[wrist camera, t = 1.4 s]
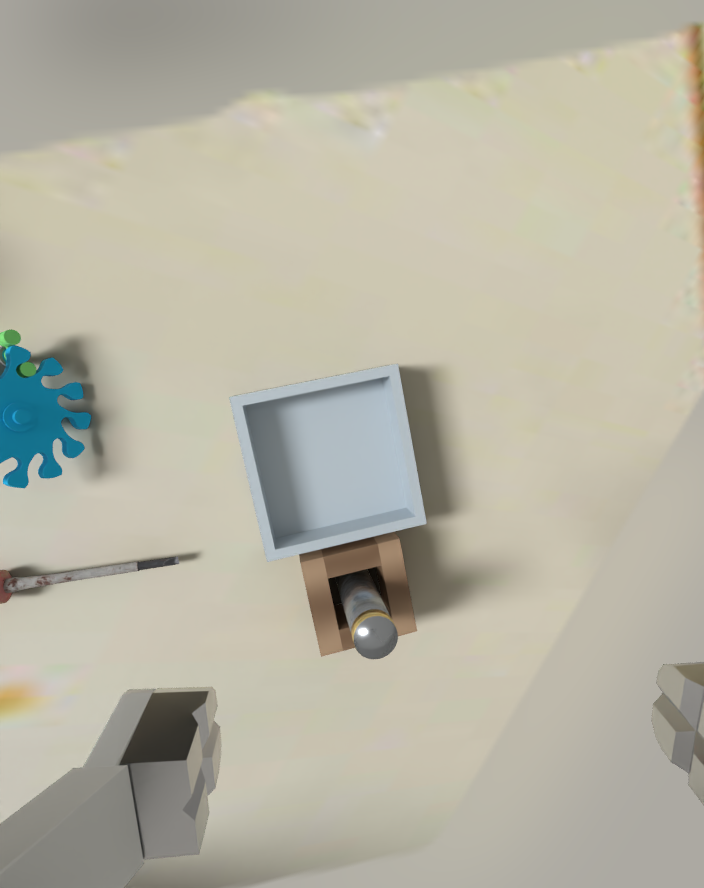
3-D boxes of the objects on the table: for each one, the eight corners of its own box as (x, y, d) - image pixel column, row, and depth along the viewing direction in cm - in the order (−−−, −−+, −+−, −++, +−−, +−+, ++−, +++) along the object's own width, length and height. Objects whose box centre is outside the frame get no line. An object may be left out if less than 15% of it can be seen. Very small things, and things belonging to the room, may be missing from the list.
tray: (413, 511, 45) (426, 523, 41) (268, 545, 43) (267, 562, 39) (386, 365, 43) (397, 363, 39) (233, 396, 42) (229, 397, 38)
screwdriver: (179, 537, 42) (171, 548, 39) (184, 570, 43) (177, 584, 40) (-152, 584, 39) (-187, 601, 36) (-142, 620, 40) (-176, 639, 37)
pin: (371, 588, 45) (401, 652, 34) (338, 596, 45) (358, 664, 34) (365, 556, 45) (393, 611, 34) (331, 564, 44) (349, 622, 34)
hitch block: (403, 607, 46) (417, 631, 41) (316, 629, 45) (321, 656, 40) (387, 523, 45) (399, 538, 40) (298, 544, 44) (300, 562, 39)
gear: (94, 485, 39) (-70, 493, 31) (58, 482, 43) (-97, 488, 35) (96, 342, 39) (-66, 313, 31) (61, 351, 43) (-93, 327, 35)
